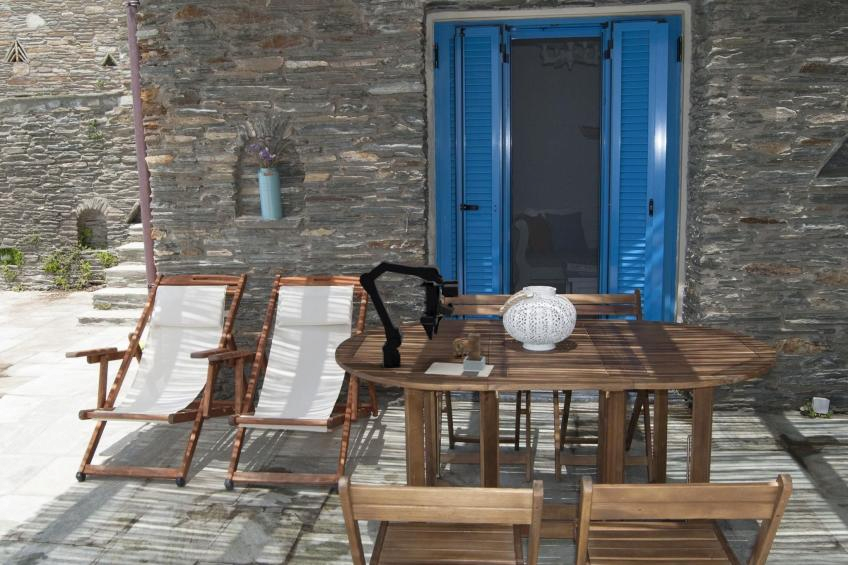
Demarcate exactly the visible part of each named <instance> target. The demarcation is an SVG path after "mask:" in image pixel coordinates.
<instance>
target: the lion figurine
mask: <svg viewBox="0 0 848 565" xmlns="http://www.w3.org/2000/svg"><path fill="white" fill-rule="evenodd" d="M452 349H453V351H454V354H455V357H459V354H460V357H462V358H463V357H465V356H464V355H468V339H466V340H464V341H463V339H460V338H455V339H454V340H453V341H452Z"/></svg>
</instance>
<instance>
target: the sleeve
mask: <svg viewBox="0 0 848 565" xmlns="http://www.w3.org/2000/svg"><path fill="white" fill-rule="evenodd" d="M462 364H463V370H480V371H482V370H483V368H484V367H485V365H486V356H480V361H468V355H466V356H465V358H464V359H463V362H462Z"/></svg>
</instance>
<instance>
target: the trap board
mask: <svg viewBox="0 0 848 565" xmlns="http://www.w3.org/2000/svg"><path fill="white" fill-rule="evenodd" d="M494 367H495V365H494V364H493V365H492V364H490V365H489V364H485V367H484V368H483V370H482V371H480V370H463V363H454V362H453V363H452V362H451V363H450V362H437V361H436V362H433V363H432V364H431V365H430V367H429V368H428V369H427V370H426V371H425V372H424V374H426V375H427V374H429V375H445V376H465V377H466V376H467V377H480V378H481V377H484V378H488V376H489V375H490V373H492V370H493V368H494Z"/></svg>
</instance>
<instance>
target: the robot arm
mask: <svg viewBox="0 0 848 565" xmlns="http://www.w3.org/2000/svg"><path fill="white" fill-rule="evenodd" d="M386 272H388V273H393V274H394V273H395V274H401V275H407V276H413V277H417V278H420V279H421V280H423V281H422V282H421V283H420V285H419V287H420V288H424V292H425V294H424V295H425V296H424V298H425V299H424V301H423V304H424V305H425V311H424V314H423V315H422V316H421V317H420V318H419V324H421V326H422V328H423V329H424V331H425V333H426V335H427V338H428V339H429V341H432V340H433V336H434V335H438V333H439V327H440V324H441V320H442V319H444V318H445V317H447V318H449V319H450V318H452V317H453V316H454V313H455V311H456V307H455V306H454V303H453V302H449V303H443V300H442V299H441V296H443V297H444V298H445V299H446V298H447V299H448V298H450V299H451V298H459V297H460V287H459V280H458V279H452V280H450V279H448V280H445V277H443V275H441V271H440V268H439V267H438V266H437V265H435V264H421V265H415V264H410V263H409V264H408V263H400V262H396V261H395V262H394V261H389V260H387V259H386V260H382V261H381V262H379V264H377V265H376V266H375V267H373V268H372V269H371V270H366V271H363V273H362V274H360V277H359V279H358V280H359V284H360V286H361V287H362V288H363V290H364V291H365V292H366V294H368V296H369V298H370V300H371V302H372V305H373V306H374V308H375V310H376V314H377V315H378V317H379V319H380V322H381V323H382V326H383V329H384V334H385V339H386V340H385V341H384V344H383V345H382V347H381V354H382V356H381V357H382V362H381V365H382V367H383V366H384V367H390V368H401V364H402V363H401V362H402V360H401V353H400V350H399V348H400V347H401V346H402V343H403V341H404V335H405V333H404V332H403V331H402V327H401V325H400V324H398V326H397V325H396V323H394V321H393V319H392V317H391V315H390V312H389V309H388V308H387V306H386V304H385V301H384V299H383V296H382V295H381V292H380V289H379V283H378V279H379V277H381V276H382V275H383V274H384V273H386ZM384 367H383V368H384Z"/></svg>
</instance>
